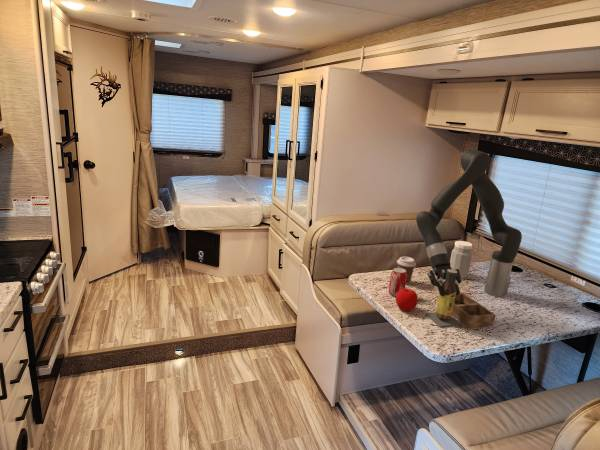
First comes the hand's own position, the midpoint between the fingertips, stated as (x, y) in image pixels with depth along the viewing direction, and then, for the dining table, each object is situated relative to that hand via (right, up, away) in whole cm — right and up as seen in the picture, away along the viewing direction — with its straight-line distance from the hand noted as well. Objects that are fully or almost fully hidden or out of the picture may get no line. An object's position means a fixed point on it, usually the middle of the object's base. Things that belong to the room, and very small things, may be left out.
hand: (450, 295), depth 156 cm
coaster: (-1, -11, +5) cm, 12 cm away
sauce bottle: (-1, -10, +5) cm, 11 cm away
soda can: (-16, -4, +24) cm, 29 cm away
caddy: (+10, -10, +10) cm, 17 cm away
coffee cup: (-9, 0, +39) cm, 40 cm away
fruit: (-15, -8, +12) cm, 21 cm away
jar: (+23, +1, +51) cm, 56 cm away
